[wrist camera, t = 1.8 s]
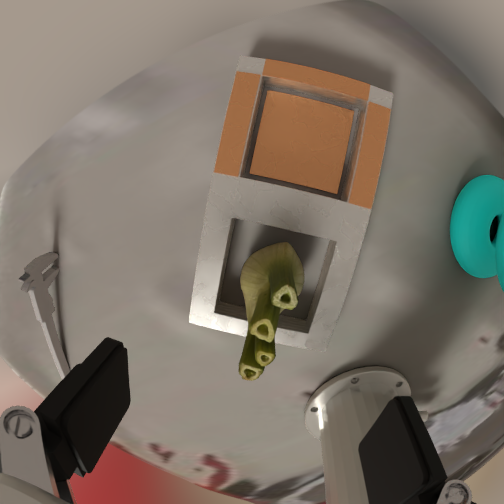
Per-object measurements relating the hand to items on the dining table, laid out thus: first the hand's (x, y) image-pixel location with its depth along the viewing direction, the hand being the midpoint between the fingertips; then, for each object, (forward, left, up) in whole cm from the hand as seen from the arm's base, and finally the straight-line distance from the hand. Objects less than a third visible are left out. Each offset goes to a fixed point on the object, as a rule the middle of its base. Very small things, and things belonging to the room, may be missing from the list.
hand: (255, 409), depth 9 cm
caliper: (+23, +14, -17) cm, 32 cm away
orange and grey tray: (0, -5, -16) cm, 17 cm away
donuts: (-20, -9, -17) cm, 27 cm away
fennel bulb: (0, 0, -17) cm, 17 cm away
